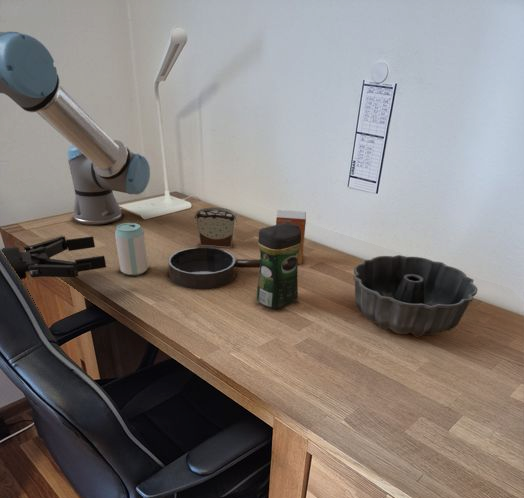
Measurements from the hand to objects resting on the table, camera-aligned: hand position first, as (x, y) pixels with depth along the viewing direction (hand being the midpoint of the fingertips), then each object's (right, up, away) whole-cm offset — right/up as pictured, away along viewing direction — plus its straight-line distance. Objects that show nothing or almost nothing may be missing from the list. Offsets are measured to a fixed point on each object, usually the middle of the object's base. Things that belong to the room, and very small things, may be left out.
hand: (99, 251), depth 113 cm
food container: (+27, +8, +25) cm, 38 cm away
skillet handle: (+40, -3, +7) cm, 40 cm away
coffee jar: (+44, -13, -4) cm, 46 cm away
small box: (+48, +1, +17) cm, 51 cm away
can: (+7, -4, +7) cm, 10 cm away
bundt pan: (+73, -17, -8) cm, 76 cm away
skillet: (+25, -5, +7) cm, 26 cm away
